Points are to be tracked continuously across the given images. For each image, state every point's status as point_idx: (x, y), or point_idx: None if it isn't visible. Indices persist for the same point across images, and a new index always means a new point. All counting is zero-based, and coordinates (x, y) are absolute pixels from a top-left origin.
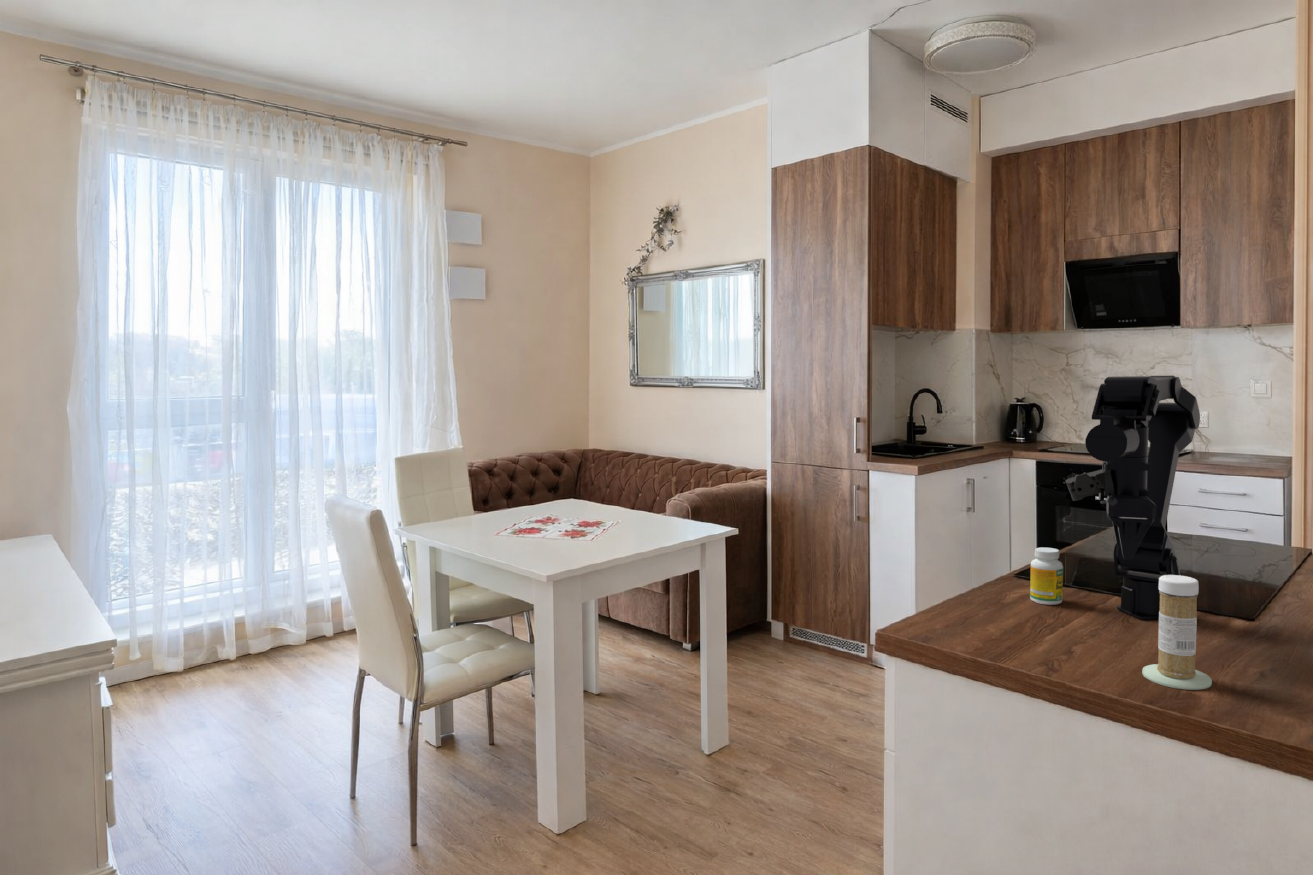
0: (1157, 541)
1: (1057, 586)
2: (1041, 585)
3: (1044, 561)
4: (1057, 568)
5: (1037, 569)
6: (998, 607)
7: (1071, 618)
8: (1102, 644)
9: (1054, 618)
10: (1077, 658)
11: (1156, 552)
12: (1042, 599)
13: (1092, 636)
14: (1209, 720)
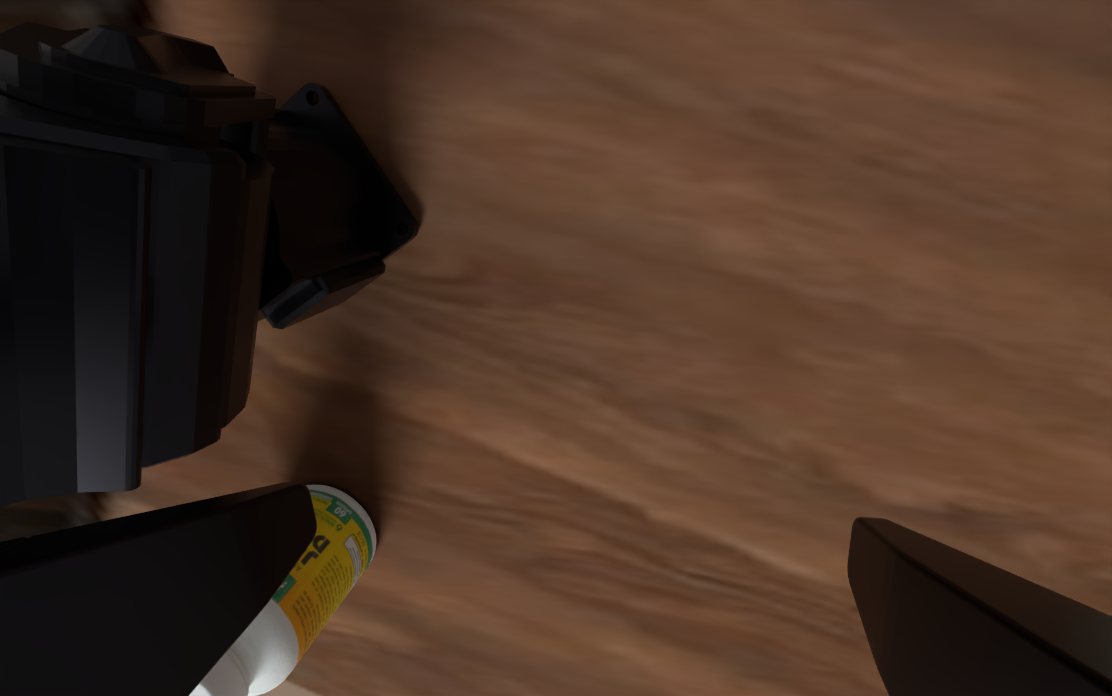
0: (31, 202)
1: (319, 545)
2: (341, 598)
3: (253, 672)
4: (268, 605)
5: (296, 664)
6: (482, 666)
7: (510, 470)
8: (824, 399)
9: (536, 523)
10: (1047, 501)
11: (170, 204)
12: (370, 555)
13: (723, 424)
14: None
